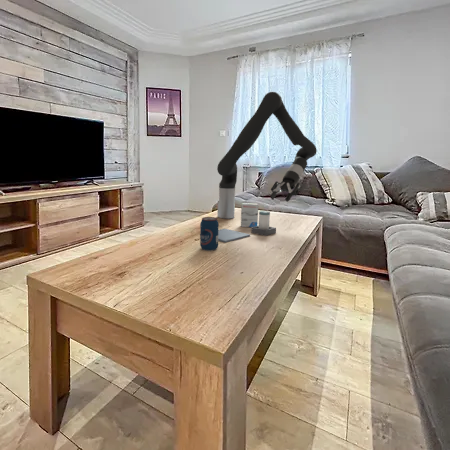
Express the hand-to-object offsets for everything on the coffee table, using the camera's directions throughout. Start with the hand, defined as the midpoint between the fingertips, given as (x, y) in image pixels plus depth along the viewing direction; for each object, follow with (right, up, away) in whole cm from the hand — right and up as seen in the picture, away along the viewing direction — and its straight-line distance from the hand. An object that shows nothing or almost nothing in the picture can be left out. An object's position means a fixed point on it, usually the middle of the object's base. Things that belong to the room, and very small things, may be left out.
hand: (278, 199), depth 153 cm
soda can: (-32, -22, -32) cm, 50 cm away
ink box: (-14, -13, +9) cm, 21 cm away
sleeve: (-8, -16, -5) cm, 19 cm away
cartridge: (-8, -16, -5) cm, 19 cm away
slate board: (-26, -17, -12) cm, 34 cm away
